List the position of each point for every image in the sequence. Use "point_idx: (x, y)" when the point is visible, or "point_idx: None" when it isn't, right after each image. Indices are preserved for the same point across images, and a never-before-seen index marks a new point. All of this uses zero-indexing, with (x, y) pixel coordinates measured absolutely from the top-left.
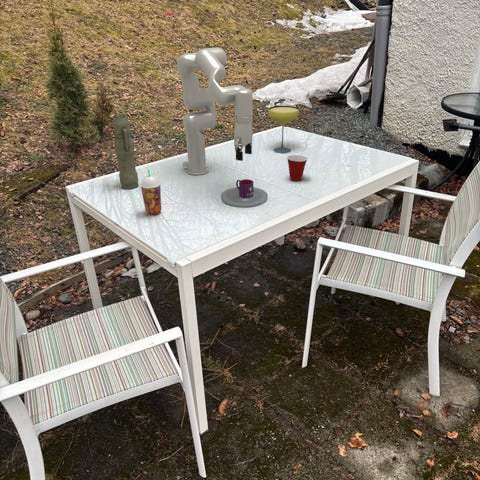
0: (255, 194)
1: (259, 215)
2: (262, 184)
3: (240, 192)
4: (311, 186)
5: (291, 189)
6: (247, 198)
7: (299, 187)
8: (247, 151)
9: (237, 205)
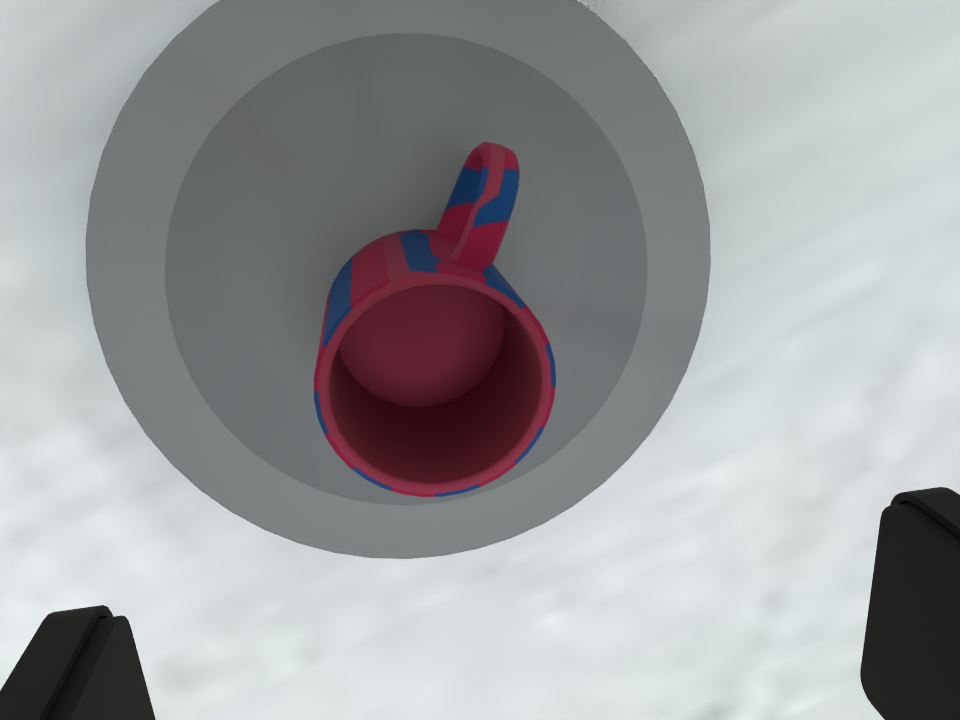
0: None
1: None
2: (873, 278)
3: (329, 301)
4: None
5: (831, 597)
6: None
7: None
8: (932, 637)
9: (110, 364)
